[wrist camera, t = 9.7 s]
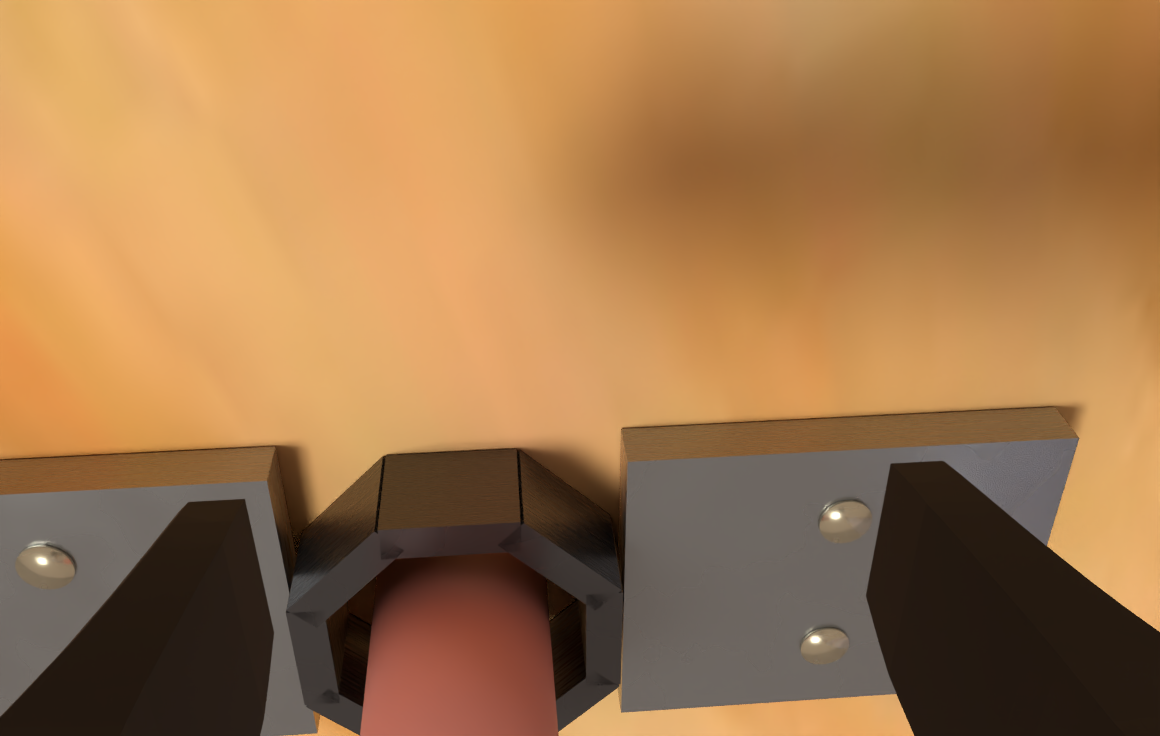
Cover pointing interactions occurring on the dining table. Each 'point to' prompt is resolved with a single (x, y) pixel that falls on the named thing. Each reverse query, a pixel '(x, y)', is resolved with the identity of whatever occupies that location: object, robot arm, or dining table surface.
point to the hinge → (544, 552)
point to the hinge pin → (460, 649)
